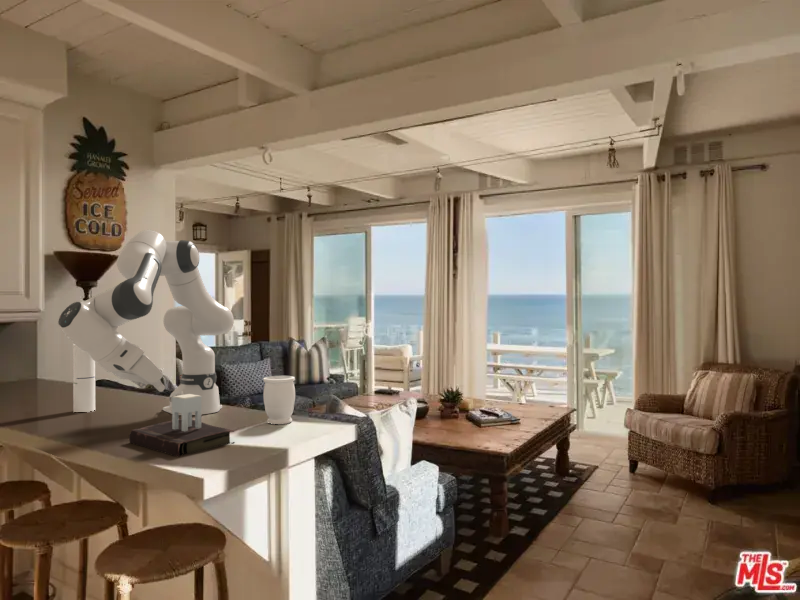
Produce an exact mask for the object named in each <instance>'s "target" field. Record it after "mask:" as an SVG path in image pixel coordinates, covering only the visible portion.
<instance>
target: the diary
mask: <svg viewBox="0 0 800 600" xmlns="http://www.w3.org/2000/svg"><path fill="white" fill-rule="evenodd" d="M231 432H235V430H234V429H229V428H225V427H220V426H216V425H212V424H208V423H205V422H202V421H201V428H198V429H197V428H195V419H192V426H190V427H188V431H182V418H179V429H172V420H169V421H168V420H167V421H163V422H158V423H154V424H149V425H147V426H143V427H138V428H135V429H131V430H130V432H129V435H128V441H129V443H130V444H133V443H134V445H136V444H137V446H141V447H143V446H144V448H147V449H150V450H153V449H154V450H153V451H156V450H158V452H160V451H162V452H161V453H164V452H166V453H165V454H167V453H168V455H170V454H172V455H171V456H173V455H174V457H177V456H178V457H177V458H179V456H180V457H181V455H182V454H183V455H185V454H192V453H196V452H200V451H204V450H208V449H212V448H213V449H214V448H216V447H221V446H225V445H229V444H230V445H232V444H233V445H234V444H235V443H236V442H235V441H233V442H231V437H230V435H231V434H230V433H231ZM183 455H182V456H183Z"/></svg>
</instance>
